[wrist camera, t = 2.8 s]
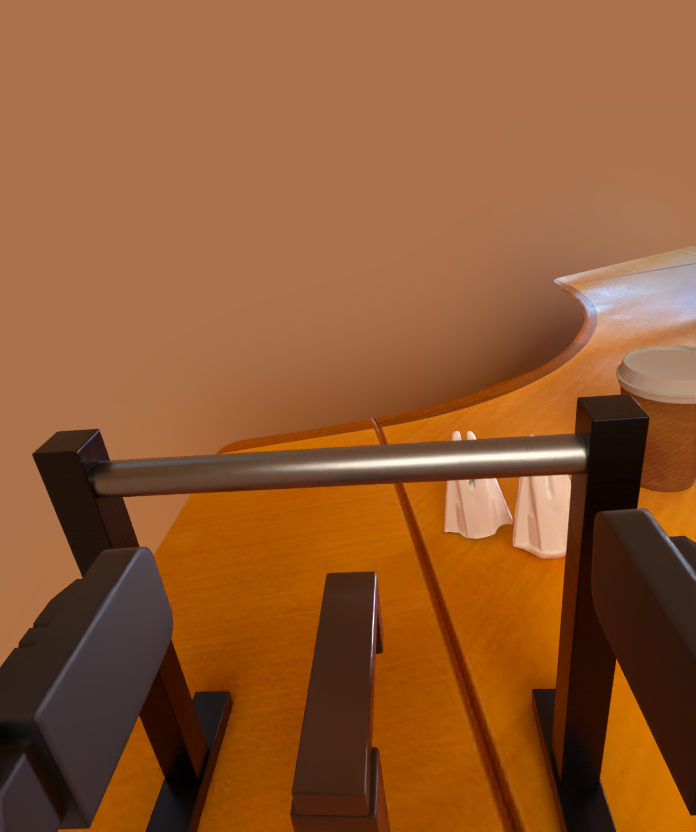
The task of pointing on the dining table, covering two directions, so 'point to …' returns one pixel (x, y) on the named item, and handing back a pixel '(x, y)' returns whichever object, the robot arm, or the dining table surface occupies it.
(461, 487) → the shaker set
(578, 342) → the dining table surface
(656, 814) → the dining table surface
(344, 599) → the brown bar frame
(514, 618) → the dining table surface
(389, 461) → the rack
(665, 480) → the disposable coffee cup
